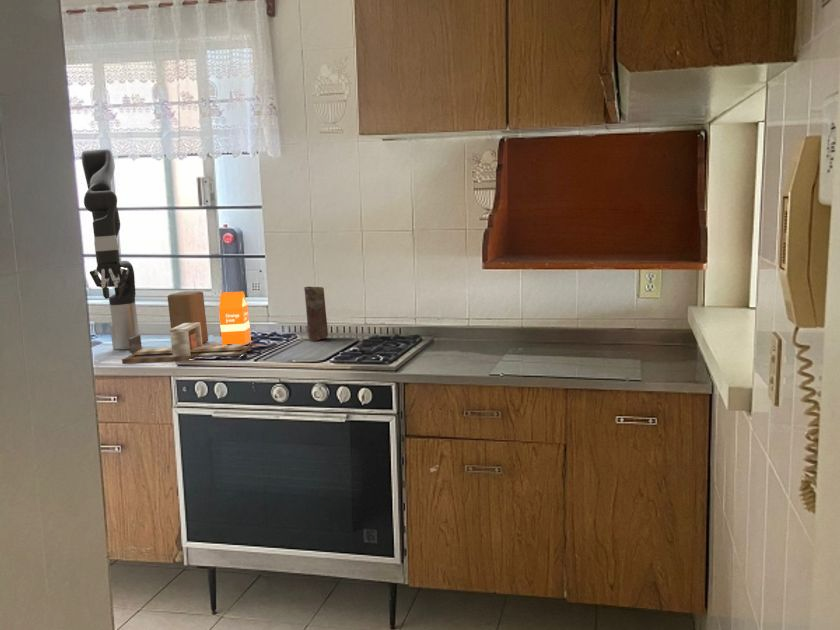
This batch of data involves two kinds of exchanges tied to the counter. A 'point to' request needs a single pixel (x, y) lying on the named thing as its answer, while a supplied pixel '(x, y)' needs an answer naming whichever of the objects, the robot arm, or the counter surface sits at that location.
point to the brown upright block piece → (316, 313)
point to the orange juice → (234, 318)
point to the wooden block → (188, 310)
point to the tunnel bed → (182, 347)
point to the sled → (137, 348)
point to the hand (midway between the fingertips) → (112, 297)
